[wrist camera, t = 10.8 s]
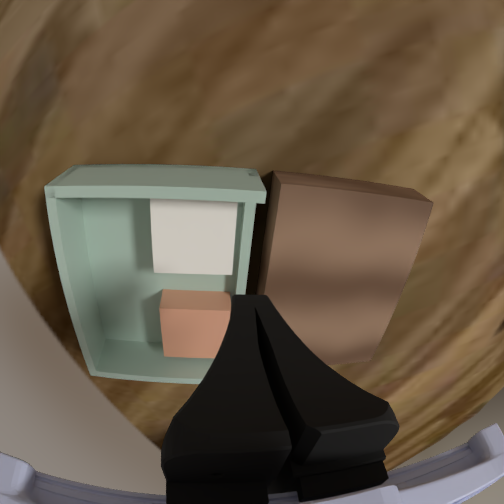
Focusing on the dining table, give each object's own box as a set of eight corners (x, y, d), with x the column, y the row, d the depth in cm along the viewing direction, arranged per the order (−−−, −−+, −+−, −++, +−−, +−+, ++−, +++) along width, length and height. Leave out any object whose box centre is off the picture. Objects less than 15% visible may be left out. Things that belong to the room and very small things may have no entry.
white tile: (230, 257, 20) (232, 274, 18) (158, 255, 20) (154, 272, 18) (235, 188, 18) (237, 200, 16) (156, 186, 17) (150, 198, 16)
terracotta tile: (225, 339, 24) (227, 358, 22) (166, 337, 23) (164, 356, 21) (229, 291, 21) (231, 310, 20) (162, 289, 21) (159, 308, 19)
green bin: (236, 344, 25) (240, 384, 21) (102, 337, 23) (90, 375, 20) (256, 169, 18) (266, 191, 15) (74, 165, 16) (44, 186, 13)
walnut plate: (360, 340, 27) (370, 360, 24) (248, 345, 25) (251, 368, 23) (413, 189, 20) (433, 202, 18) (273, 170, 18) (281, 183, 16)
